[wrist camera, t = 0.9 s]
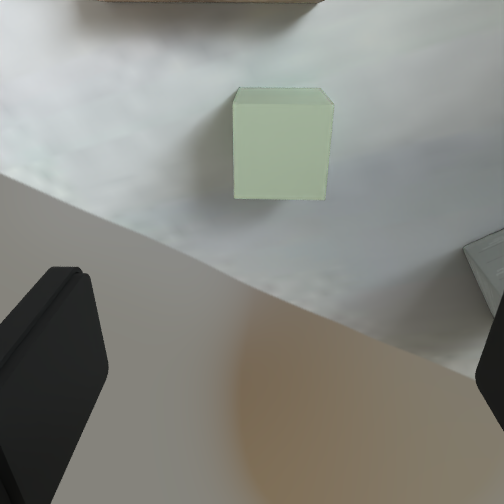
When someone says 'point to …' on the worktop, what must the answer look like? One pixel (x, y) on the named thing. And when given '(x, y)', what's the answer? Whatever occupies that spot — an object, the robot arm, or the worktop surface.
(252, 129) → the sage block
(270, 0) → the walnut plinth
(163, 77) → the worktop surface
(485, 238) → the skincare box
